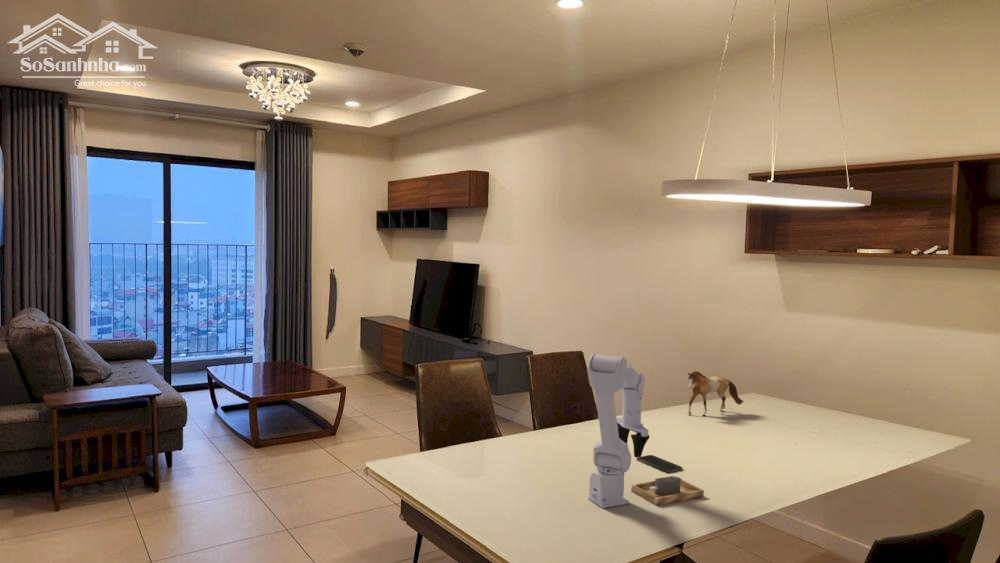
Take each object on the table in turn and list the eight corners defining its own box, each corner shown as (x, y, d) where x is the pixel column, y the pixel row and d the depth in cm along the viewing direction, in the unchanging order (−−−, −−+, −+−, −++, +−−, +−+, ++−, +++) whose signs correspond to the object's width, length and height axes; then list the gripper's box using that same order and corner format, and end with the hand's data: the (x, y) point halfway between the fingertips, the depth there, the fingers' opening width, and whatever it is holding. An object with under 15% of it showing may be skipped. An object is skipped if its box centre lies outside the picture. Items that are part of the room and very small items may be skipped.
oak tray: (656, 505, 178) (656, 498, 178) (631, 491, 188) (631, 484, 188) (703, 497, 185) (703, 490, 185) (677, 483, 196) (677, 477, 196)
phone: (667, 471, 205) (635, 457, 218) (667, 474, 205) (635, 460, 218) (684, 467, 209) (651, 454, 222) (684, 471, 209) (651, 457, 222)
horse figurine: (688, 419, 275) (690, 372, 274) (677, 414, 282) (679, 369, 281) (744, 414, 286) (746, 369, 285) (732, 409, 294) (734, 366, 293)
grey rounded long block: (654, 497, 183) (654, 484, 182) (646, 493, 186) (647, 480, 186) (682, 492, 187) (683, 479, 187) (674, 488, 190) (675, 475, 190)
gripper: (657, 414, 190) (655, 458, 190) (628, 403, 203) (626, 444, 204) (638, 416, 187) (636, 461, 187) (610, 405, 200) (608, 447, 201)
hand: (630, 453), depth 195 cm, fingers open, 7 cm apart
